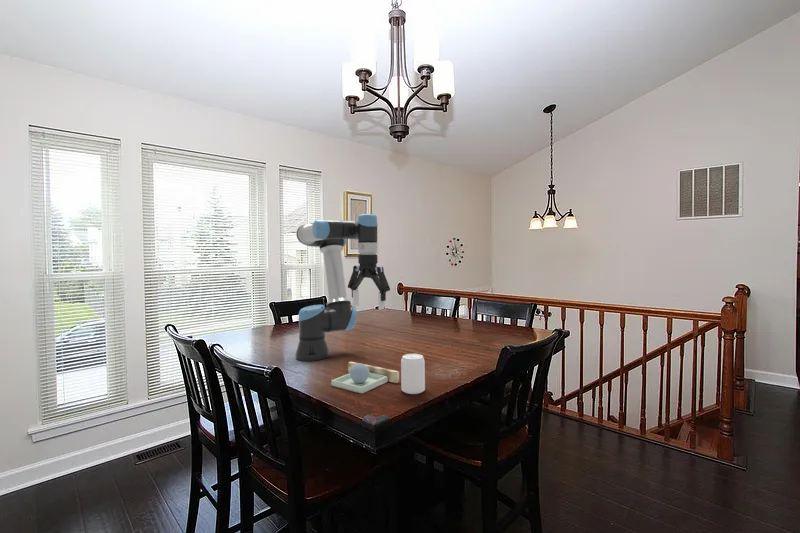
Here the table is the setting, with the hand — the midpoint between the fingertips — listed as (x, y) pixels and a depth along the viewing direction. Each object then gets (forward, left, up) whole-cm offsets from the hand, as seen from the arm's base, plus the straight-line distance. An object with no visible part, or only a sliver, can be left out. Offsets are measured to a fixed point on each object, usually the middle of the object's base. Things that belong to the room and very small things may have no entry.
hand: (368, 307), depth 153 cm
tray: (+6, -12, -26) cm, 29 cm away
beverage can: (+26, -8, -26) cm, 37 cm away
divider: (+5, -4, -26) cm, 27 cm away
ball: (+6, -12, -26) cm, 29 cm away
